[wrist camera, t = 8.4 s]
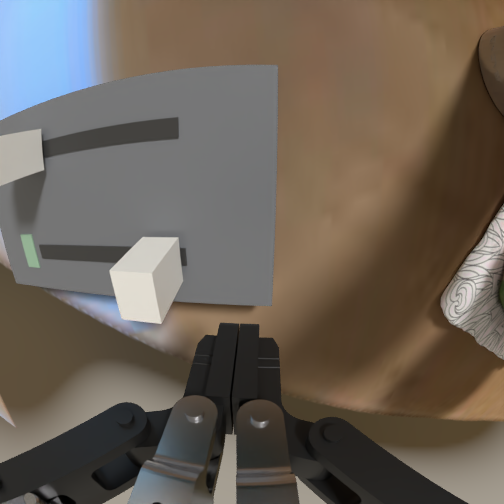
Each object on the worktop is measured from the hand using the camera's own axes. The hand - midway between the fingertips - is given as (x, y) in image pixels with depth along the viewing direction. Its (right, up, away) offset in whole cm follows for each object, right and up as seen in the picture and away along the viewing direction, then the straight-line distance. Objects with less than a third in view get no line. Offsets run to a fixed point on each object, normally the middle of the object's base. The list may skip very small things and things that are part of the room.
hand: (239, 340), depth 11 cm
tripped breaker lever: (-5, +3, +7) cm, 9 cm away
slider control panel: (-10, +8, +9) cm, 16 cm away
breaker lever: (-15, +11, +4) cm, 19 cm away
